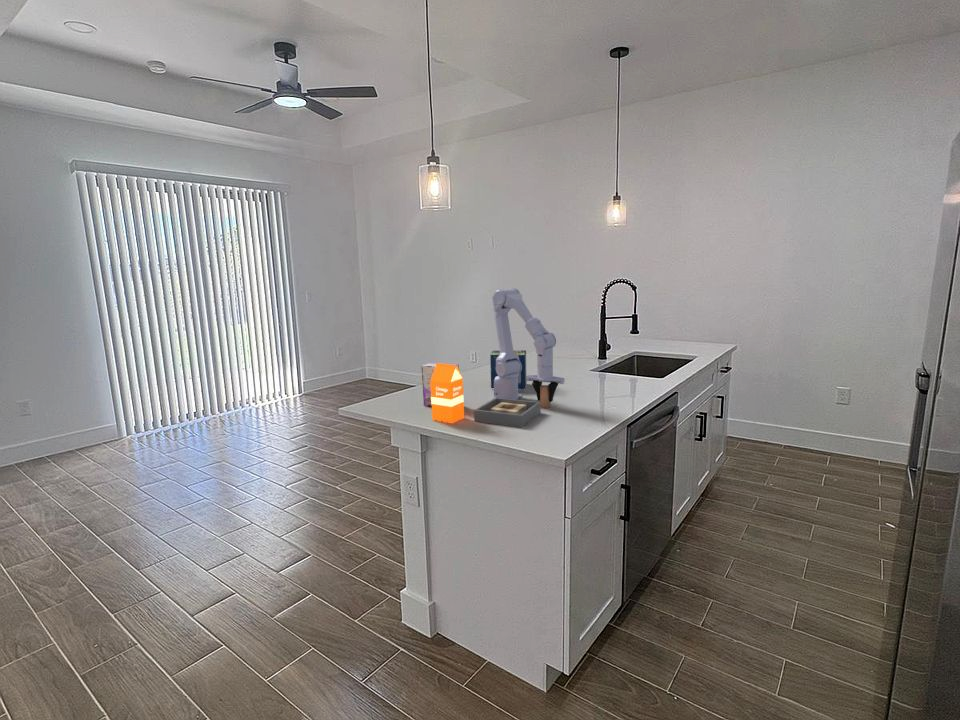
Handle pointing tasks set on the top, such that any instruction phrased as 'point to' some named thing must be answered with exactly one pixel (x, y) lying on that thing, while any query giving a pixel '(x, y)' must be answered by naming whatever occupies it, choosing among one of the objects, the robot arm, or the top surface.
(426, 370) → the candy box
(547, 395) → the peg
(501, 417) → the tray
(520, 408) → the plate
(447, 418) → the orange juice
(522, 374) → the protein box
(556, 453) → the top surface
